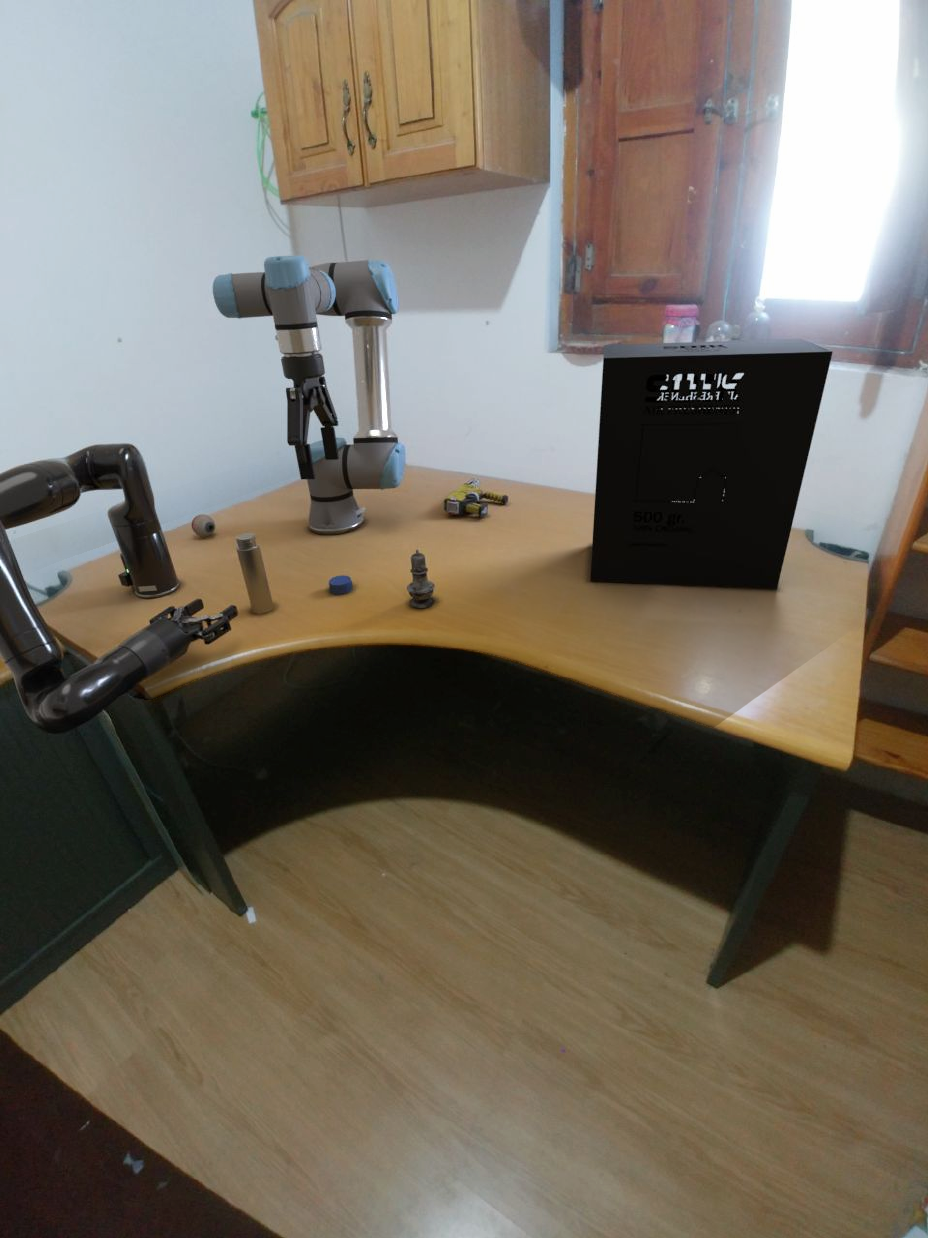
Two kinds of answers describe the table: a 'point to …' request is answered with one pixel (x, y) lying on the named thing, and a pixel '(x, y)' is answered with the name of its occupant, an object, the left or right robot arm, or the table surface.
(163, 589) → the left robot arm
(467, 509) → the toy gun
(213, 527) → the eyeball
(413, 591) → the grey chess piece
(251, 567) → the bottle
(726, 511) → the cardboard box
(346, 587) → the lid
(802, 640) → the table surface
